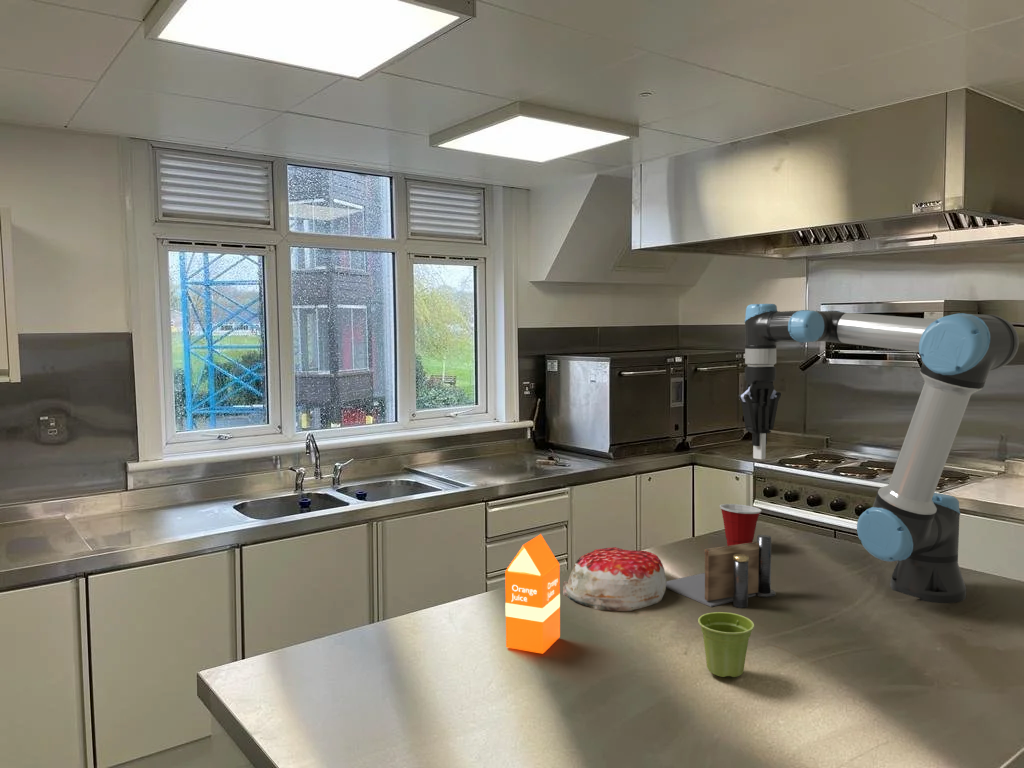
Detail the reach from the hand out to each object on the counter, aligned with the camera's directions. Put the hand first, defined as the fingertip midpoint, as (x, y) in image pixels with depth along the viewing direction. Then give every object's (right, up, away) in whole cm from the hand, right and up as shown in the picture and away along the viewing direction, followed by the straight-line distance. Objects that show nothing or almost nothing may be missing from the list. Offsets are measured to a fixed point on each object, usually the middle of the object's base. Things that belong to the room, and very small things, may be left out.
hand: (759, 458), depth 196 cm
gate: (-14, -28, -26) cm, 41 cm away
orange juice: (-59, -31, -48) cm, 82 cm away
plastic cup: (-2, -26, +11) cm, 28 cm away
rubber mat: (-17, -28, -19) cm, 38 cm away
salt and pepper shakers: (-10, -28, -26) cm, 40 cm away
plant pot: (-26, -31, -61) cm, 73 cm away
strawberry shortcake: (-39, -29, -20) cm, 53 cm away
